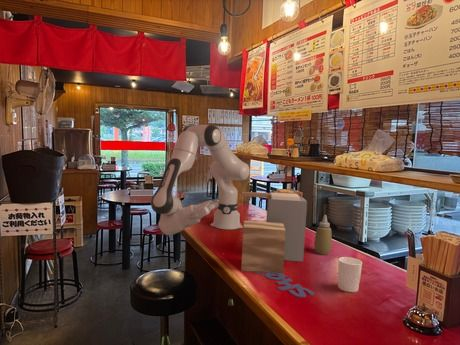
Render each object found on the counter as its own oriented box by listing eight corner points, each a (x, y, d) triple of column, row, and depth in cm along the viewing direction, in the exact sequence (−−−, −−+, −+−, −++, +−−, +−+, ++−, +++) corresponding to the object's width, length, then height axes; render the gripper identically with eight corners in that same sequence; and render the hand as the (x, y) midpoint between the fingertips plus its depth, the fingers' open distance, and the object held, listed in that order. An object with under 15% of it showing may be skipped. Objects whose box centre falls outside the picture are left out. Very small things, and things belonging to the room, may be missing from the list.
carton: (264, 250, 157) (267, 195, 155) (299, 252, 156) (303, 197, 154) (265, 258, 145) (269, 199, 143) (303, 261, 144) (307, 201, 142)
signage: (316, 293, 112) (293, 298, 108) (316, 295, 112) (293, 300, 108) (268, 264, 137) (247, 267, 133) (268, 266, 137) (247, 269, 133)
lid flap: (241, 193, 155) (242, 190, 155) (296, 197, 153) (296, 193, 153) (241, 197, 145) (241, 193, 145) (299, 200, 143) (300, 197, 143)
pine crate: (242, 260, 142) (244, 220, 141) (280, 263, 141) (282, 223, 140) (241, 270, 130) (243, 227, 129) (282, 273, 129) (285, 230, 128)
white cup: (347, 294, 114) (349, 265, 113) (331, 285, 121) (333, 258, 120) (364, 291, 117) (367, 263, 116) (348, 282, 124) (350, 256, 123)
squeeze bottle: (319, 249, 163) (321, 212, 162) (334, 253, 158) (337, 215, 156) (310, 252, 158) (312, 214, 156) (325, 257, 152) (328, 217, 150)
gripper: (184, 213, 144) (213, 198, 142) (193, 205, 164) (218, 192, 163) (191, 226, 144) (220, 212, 143) (199, 216, 164) (224, 204, 163)
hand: (219, 201), depth 153 cm, fingers open, 8 cm apart
